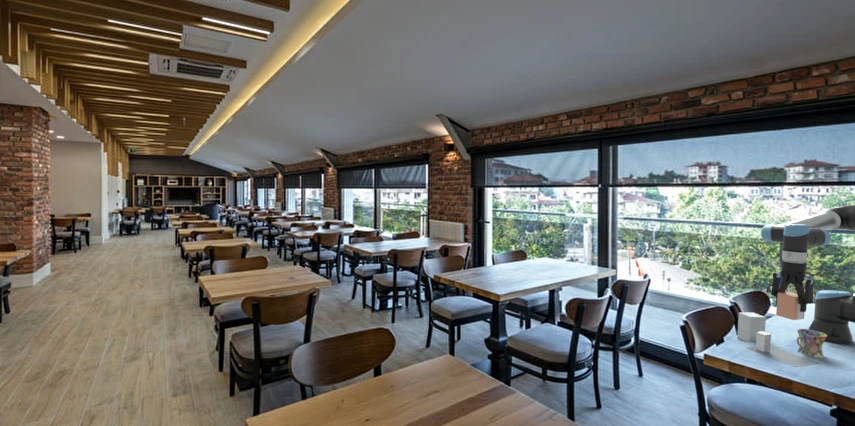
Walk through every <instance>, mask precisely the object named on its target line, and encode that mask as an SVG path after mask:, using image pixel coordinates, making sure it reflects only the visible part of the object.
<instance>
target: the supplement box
mask: <svg viewBox="0 0 855 426" xmlns="http://www.w3.org/2000/svg"><path fill="white" fill-rule="evenodd" d="M766 318H767V317H766V316H764V315H760V314H759V313H756V312H752V311H750V312H747V311H745V312H738V320H737V337H736V338H737V339H740V340H742V342H743V341H744V342H746V343H747V342H754V341H755V342H756V336H757V332H762V331H763V332H766V320H767V319H766Z"/></svg>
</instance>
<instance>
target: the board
mask: <svg viewBox="0 0 855 426" xmlns="http://www.w3.org/2000/svg"><path fill="white" fill-rule="evenodd" d="M746 349H748V350H750V351H752V352H756V353H758V354H760V355H764V356H765V357H768V358H771V359H773V360H776V361H778V362H781V363H784V364H786V365H789V366H791V367H794V368H798V367H805V366H812V365H813V366H814V365H819V364H821V362H818V361H816V360H814V359H813V360H812V359H810V358H807V357H805V356H802V355H799V354H796V353H792V351H791V352H790V351H787V350H785V349H782V348H780V347H777V346H774V345H771V344H770V352H769V353H762V352H760V351H757V350H756V346H750V347H746Z"/></svg>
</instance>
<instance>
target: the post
mask: <svg viewBox="0 0 855 426" xmlns="http://www.w3.org/2000/svg"><path fill="white" fill-rule="evenodd" d="M771 341H772V334H771V333H768V332H766V331H765V332H763V331H762V332H757V336H756V341H755V347H756V350H757V351H760V352H762V353H769V352H770V345H771V344H772V343H771Z"/></svg>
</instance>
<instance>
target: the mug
mask: <svg viewBox="0 0 855 426" xmlns="http://www.w3.org/2000/svg"><path fill="white" fill-rule="evenodd" d="M796 332H797V333H798V336H797V338H796V343H797V345H798V349H797V352H798V353H799V354H801V355H805V356H807V357H812V358H824V354H823V345H824V342H825V339H826V338H827V335H826V334H824V333H822V332H818V331H814V330H809V328H808V329H807V328H798V329H796Z"/></svg>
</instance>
